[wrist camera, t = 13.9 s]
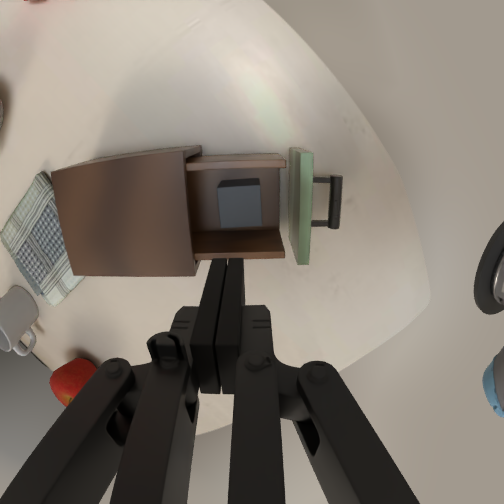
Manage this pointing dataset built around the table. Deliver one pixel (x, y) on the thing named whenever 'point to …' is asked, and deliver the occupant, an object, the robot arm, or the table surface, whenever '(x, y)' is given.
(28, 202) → the dish towel
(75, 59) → the table surface
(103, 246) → the cabinet
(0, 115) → the bowl
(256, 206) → the block
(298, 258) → the drawer
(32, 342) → the mug
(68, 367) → the apple
